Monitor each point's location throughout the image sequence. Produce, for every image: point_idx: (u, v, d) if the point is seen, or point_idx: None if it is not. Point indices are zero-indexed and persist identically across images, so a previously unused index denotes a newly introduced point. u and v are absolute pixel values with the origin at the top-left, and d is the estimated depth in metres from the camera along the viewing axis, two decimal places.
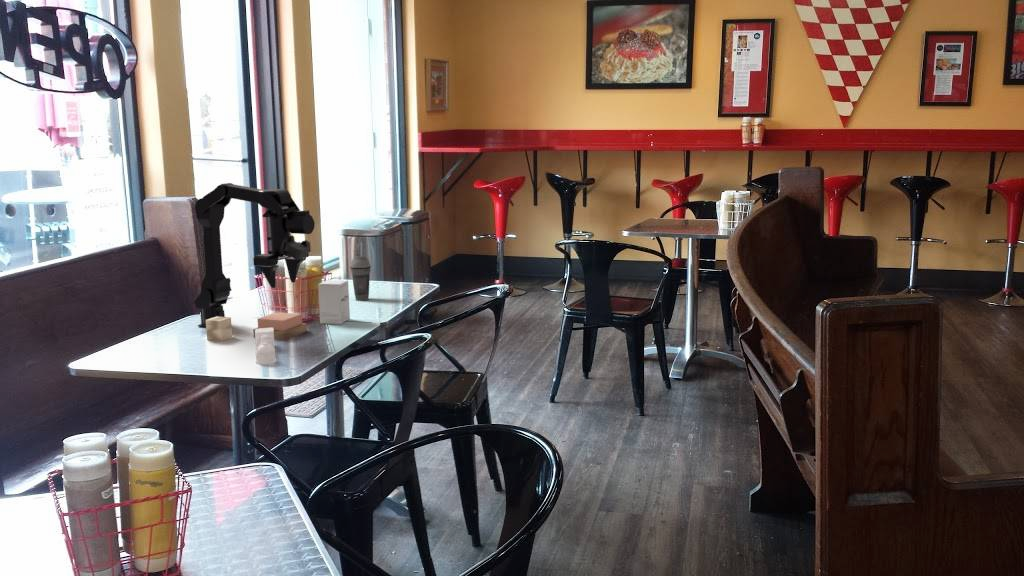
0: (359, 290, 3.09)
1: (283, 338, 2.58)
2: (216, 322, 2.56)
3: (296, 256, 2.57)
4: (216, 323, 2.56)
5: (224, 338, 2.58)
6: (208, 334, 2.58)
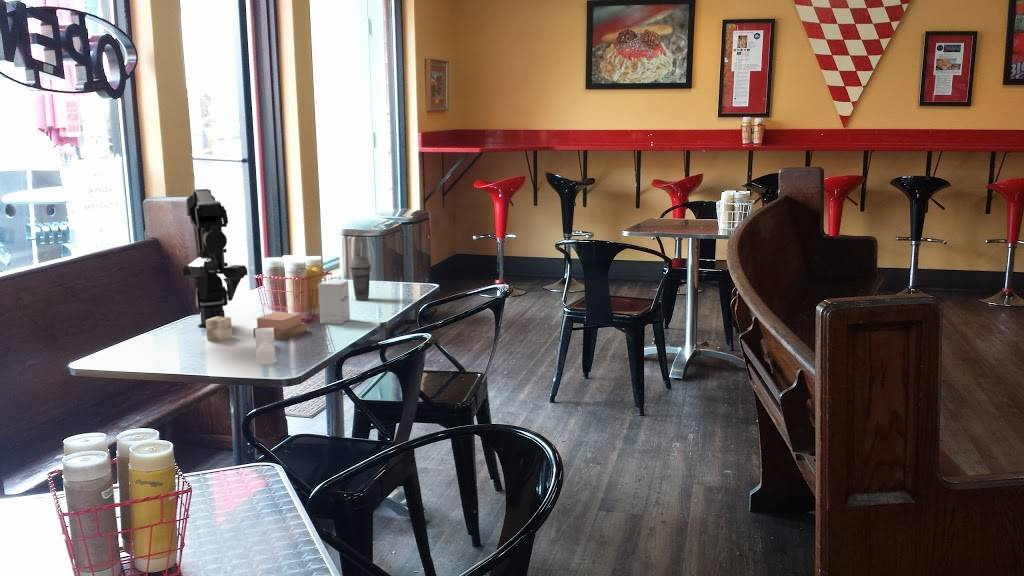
0: (359, 290, 3.09)
1: (283, 338, 2.57)
2: (216, 322, 2.56)
3: None
4: (216, 323, 2.56)
5: (224, 338, 2.58)
6: (208, 334, 2.58)
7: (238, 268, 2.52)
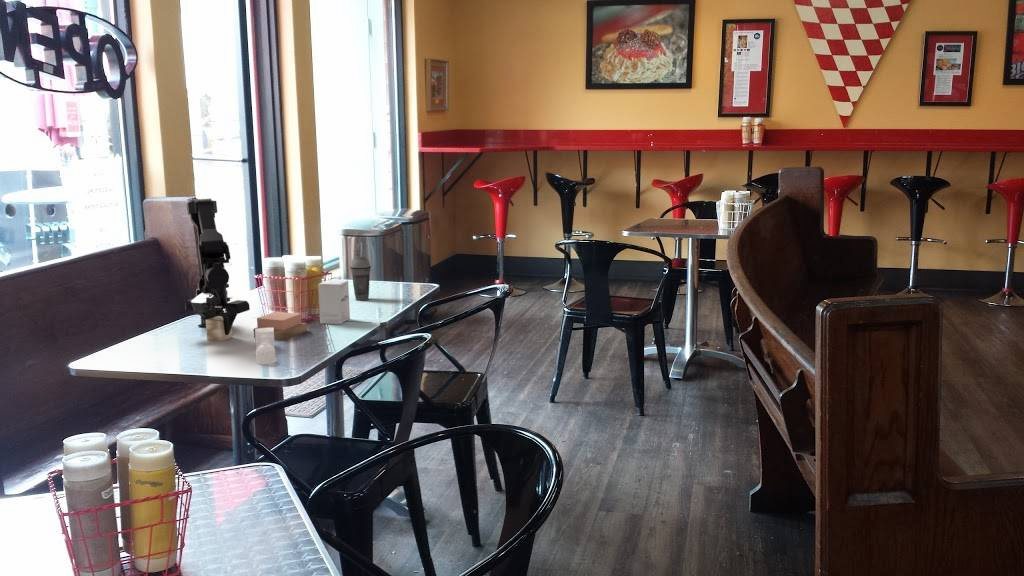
0: (359, 290, 3.09)
1: (283, 338, 2.57)
2: (216, 322, 2.56)
3: None
4: (216, 322, 2.56)
5: (224, 338, 2.58)
6: (208, 334, 2.58)
7: (240, 304, 2.54)
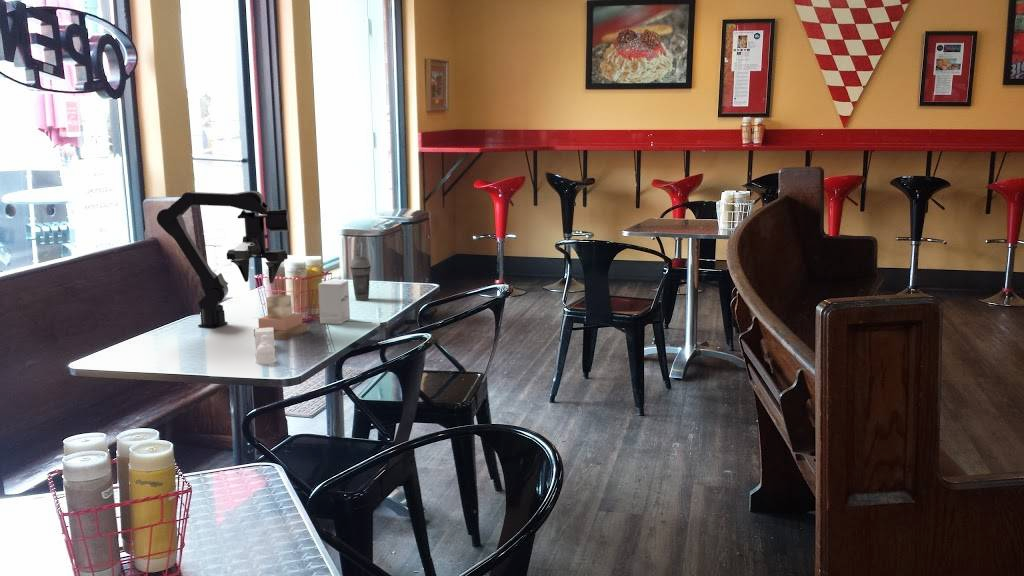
0: (359, 290, 3.09)
1: (284, 338, 2.58)
2: (277, 300, 2.59)
3: None
4: (277, 300, 2.60)
5: (284, 316, 2.61)
6: (269, 312, 2.61)
7: (279, 252, 2.70)
